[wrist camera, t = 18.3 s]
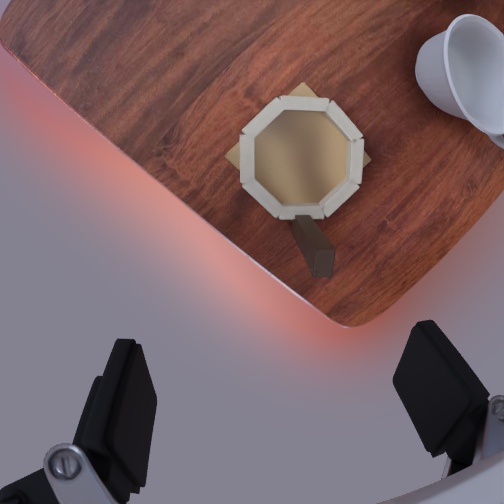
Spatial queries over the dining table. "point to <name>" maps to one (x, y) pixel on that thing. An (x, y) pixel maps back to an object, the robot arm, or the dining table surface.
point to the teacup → (466, 73)
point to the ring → (302, 214)
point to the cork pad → (299, 154)
